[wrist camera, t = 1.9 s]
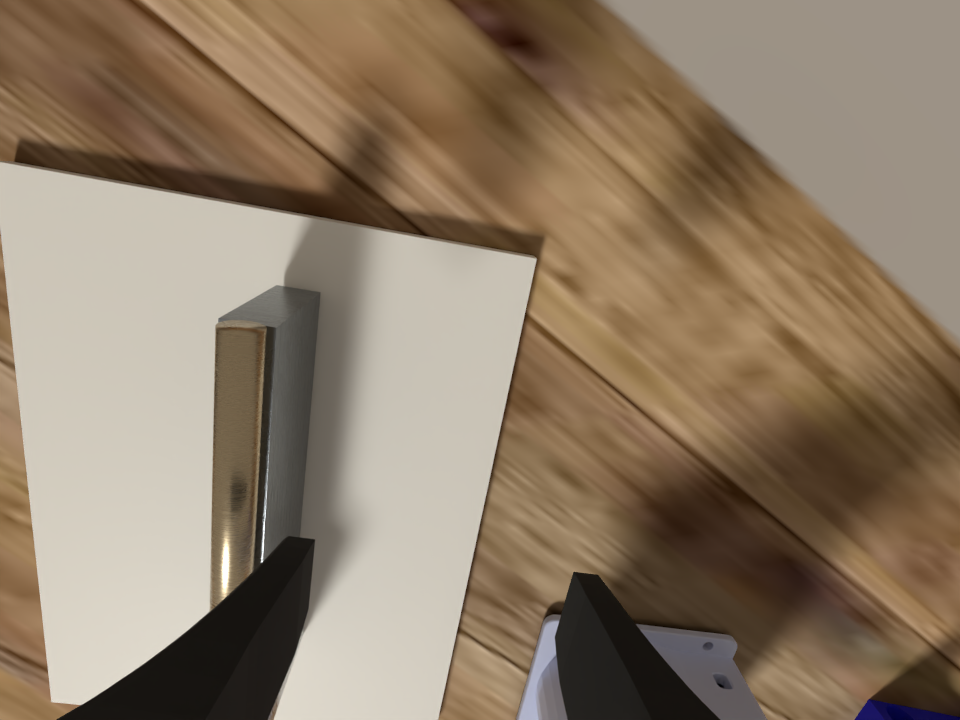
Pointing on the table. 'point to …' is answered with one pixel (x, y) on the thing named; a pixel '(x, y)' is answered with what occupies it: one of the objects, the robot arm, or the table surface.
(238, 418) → the gate
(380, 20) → the table surface
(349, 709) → the gate board
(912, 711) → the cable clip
